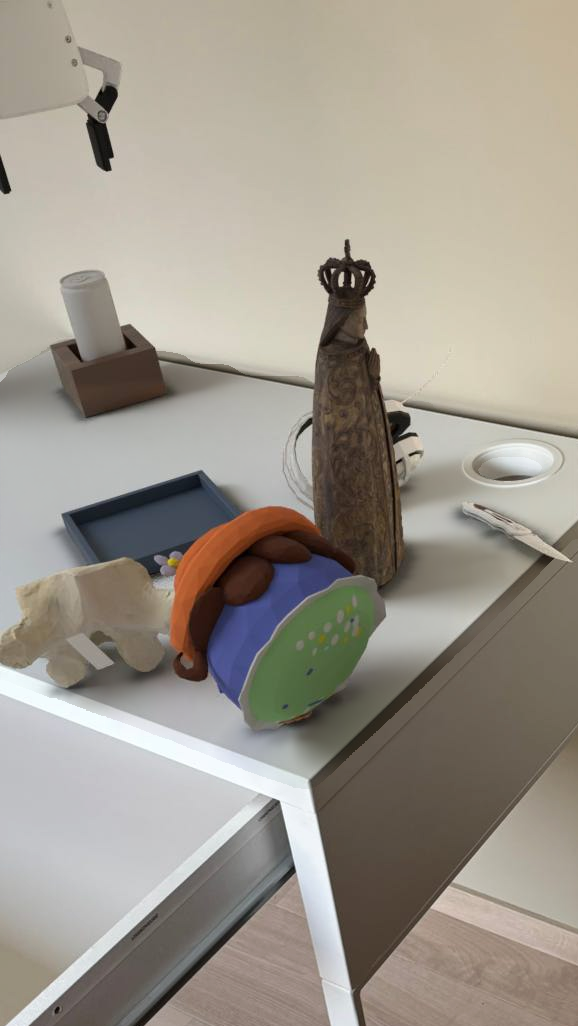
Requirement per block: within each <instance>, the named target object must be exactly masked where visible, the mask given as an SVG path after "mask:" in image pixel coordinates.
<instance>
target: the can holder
mask: <svg viewBox="0 0 578 1026" xmlns="http://www.w3.org/2000/svg"><path fill="white" fill-rule="evenodd" d="M120 327H121V331H122V335H123V338H124V342H125V346H126V349H127V350H126V351H122V352H118V353H115V354H111V355H107V356H104V357H100V358H96V359H93V360H89V361H86V362H82V359H81V355H80V352H79V349H78V346H77V342H76V339H75V338H72V339H68V340H64V341H61V342H57V343H52V344H50V345H49V348H50V352H51V354H52V357H53V361H54V363H55V367H56V369H57V373H58V376H59V379H60V382H61V386H62V389H63V391H64V393H66V395H67V396H68V397H69V399H70V400H71V401H72V402H73V404H74V405H75V406H76V408H77V409H78V410H79V411H80V412H81V414H82V415H83V417H85V418H89V417H93V416H96V415H100V414H103V413H106V412H110V411H114V410H116V409H120V408H123V407H127V406H131V405H134V404H138V403H140V402H144V401H148V400H151V399H154V398H158V397H161V396H165V395H167V394H168V391H167V388H166V384H165V380H164V377H163V373H162V369H161V365H160V361H159V357H158V354H157V349H156V347H155V346H154V345H153V344H152V343H151V342H150V341H149V340H148V339H147V338H146V337H145V336H144V335H143V334H141V332H139V330H137V329H136V328H135V327H134V326H133V324H131V323H127V324H124V325H120Z"/></svg>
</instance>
